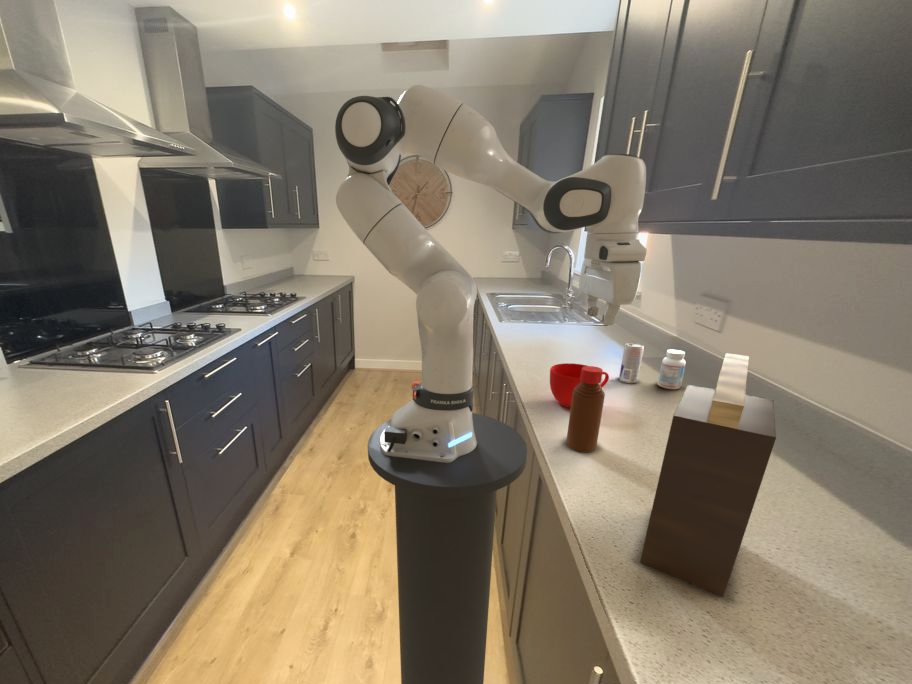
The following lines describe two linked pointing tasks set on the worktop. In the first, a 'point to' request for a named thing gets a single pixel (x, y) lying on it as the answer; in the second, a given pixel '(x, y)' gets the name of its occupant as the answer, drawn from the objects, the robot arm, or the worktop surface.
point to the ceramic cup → (567, 381)
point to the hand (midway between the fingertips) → (599, 319)
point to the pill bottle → (672, 370)
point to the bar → (730, 392)
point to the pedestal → (707, 489)
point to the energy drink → (631, 362)
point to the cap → (591, 375)
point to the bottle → (585, 417)
